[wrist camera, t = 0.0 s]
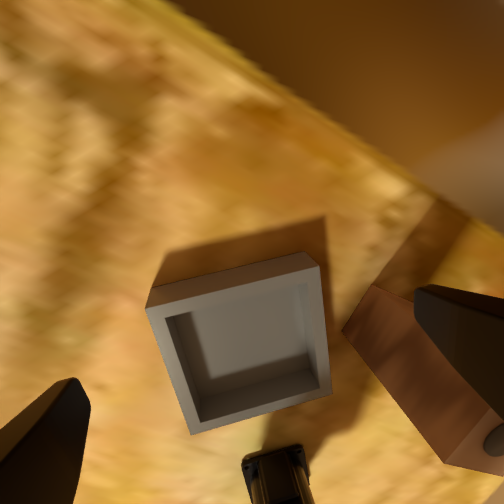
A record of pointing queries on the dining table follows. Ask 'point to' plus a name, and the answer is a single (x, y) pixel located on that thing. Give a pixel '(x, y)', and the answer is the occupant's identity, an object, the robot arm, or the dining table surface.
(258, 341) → the tray
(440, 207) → the dining table surface
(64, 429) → the robot arm
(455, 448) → the block
